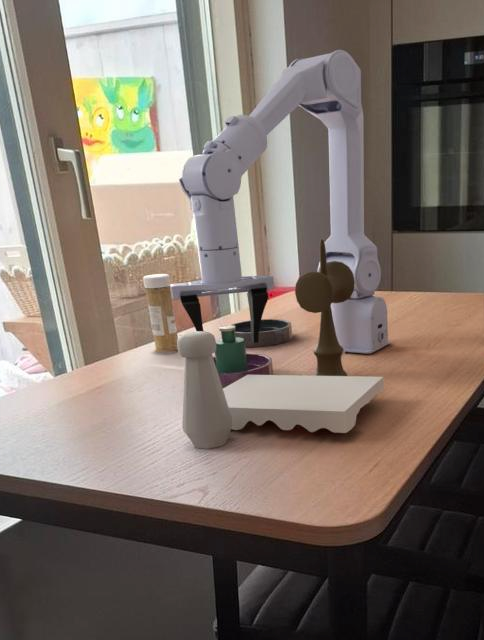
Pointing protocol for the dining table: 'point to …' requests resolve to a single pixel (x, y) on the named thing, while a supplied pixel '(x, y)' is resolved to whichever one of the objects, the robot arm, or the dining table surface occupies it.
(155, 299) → the sprinkles bottle
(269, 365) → the bowl plum
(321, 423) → the scalloped display plinth
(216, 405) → the salt shaker
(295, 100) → the robot arm
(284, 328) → the bowl charcoal
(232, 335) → the bottle
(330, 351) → the kendama
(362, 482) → the dining table surface
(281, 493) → the dining table surface
